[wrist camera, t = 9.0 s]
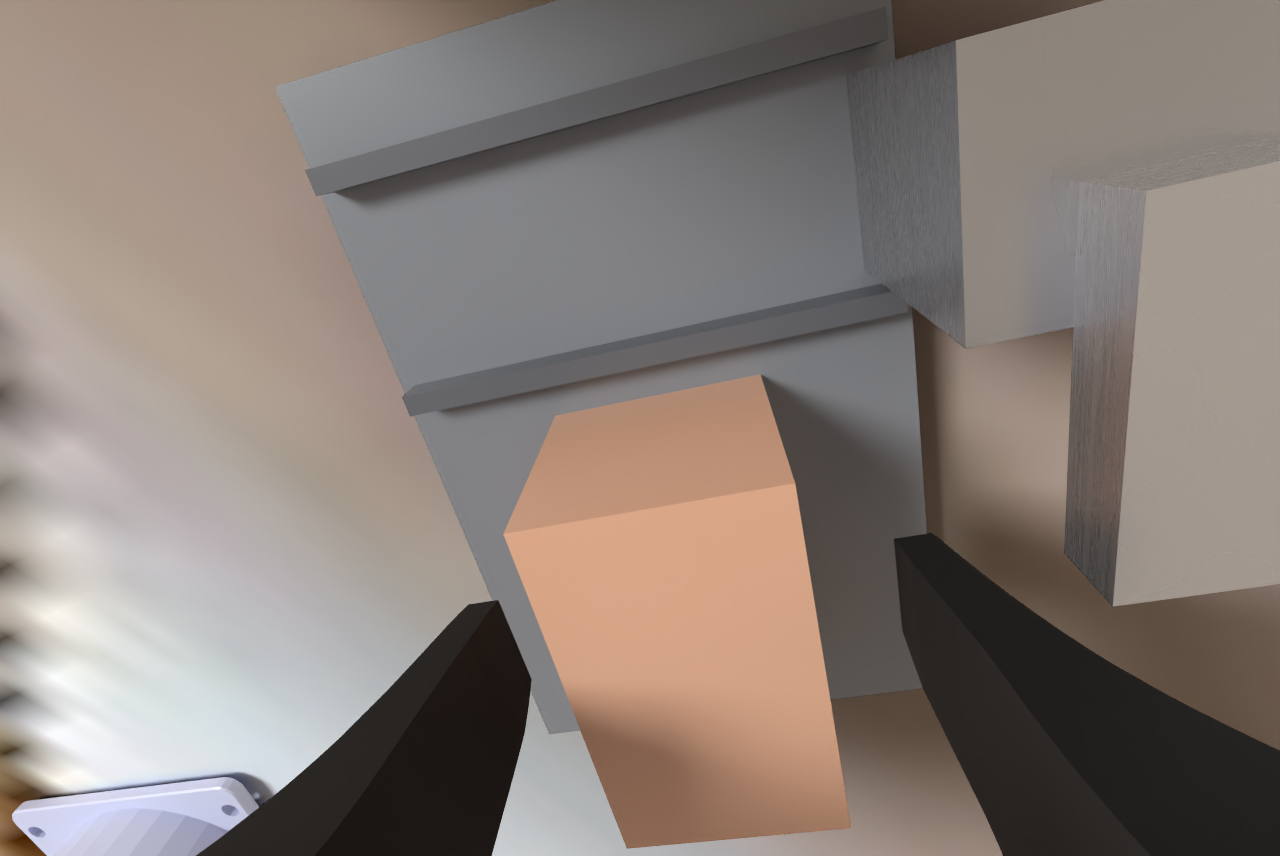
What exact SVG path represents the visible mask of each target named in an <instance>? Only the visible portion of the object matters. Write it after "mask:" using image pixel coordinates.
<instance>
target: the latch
mask: <svg viewBox="0 0 1280 856" xmlns="http://www.w3.org/2000/svg"><path fill="white" fill-rule="evenodd" d="M846 83H847V93H848V104H849V114H850V125H851V135H852V146H853V156H854V167H855V177H856V188H857V198H858V209H859V219H860V229H861V240H862V250H863V261H864V270H865V271H866V272H868V273H869V274H870V275H872V276H873V277H874V278H875V279H877V280H878V281H879V282H881V283H882V284H883V285H884V286H886V287H887V288H888V289H890V290H891V291H892V292H894V293H895V294H896V295H897V296H899V297H900V298H901V299H903V300H904V301H905V302H906V303H908V304H909V305H910V306H912V307H913V308H914V309H915V310H917V311H918V312H919V313H921V314H922V315H923V316H924V317H926V318H927V319H928V320H930V321H931V322H932V323H933V324H935V325H936V326H937V327H939V328H940V329H941V330H942V331H944V332H945V333H946V334H948V335H949V336H950V337H951V338H953V339H954V340H955V341H957V342H958V343H959V344H960V345H962V346H963V347H964V348H966V349H967V348H972V347H977V346H982V345H987V344H992V343H997V342H1002V341H1007V340H1012V339H1017V338H1022V337H1027V336H1032V335H1037V334H1042V333H1047V332H1052V331H1057V330H1062V329H1067V328H1073V347H1072V372H1071V397H1070V423H1069V448H1068V473H1067V498H1066V523H1065V548H1064V553H1065V554H1066V555H1067V556H1068V557H1069V559H1070V560H1071V561H1072V562H1073V563H1074V564H1075V565H1076V566H1077V567H1078V569H1079V570H1080V571H1081V572H1082V573H1083V574H1084V575H1085V576H1086V577H1087V579H1088V580H1089V581H1090V582H1091V583H1092V584H1093V585H1094V586H1095V587H1096V589H1097V590H1098V591H1099V592H1100V593H1101V594H1102V595H1103V596H1104V597H1105V599H1106V600H1107V601H1108V602H1109V603H1110V604H1111V605H1112V606H1113V607H1114V606H1121V605H1129V604H1136V603H1144V602H1151V601H1158V600H1166V599H1173V598H1181V597H1188V596H1195V595H1203V594H1210V593H1218V592H1225V591H1232V590H1240V589H1247V588H1255V587H1262V586H1269V585H1277V584H1280V0H1103V1H1100V2H1096V3H1092V4H1089V5H1085V6H1081V7H1078V8H1074V9H1070V10H1066V11H1063V12H1059V13H1055V14H1052V15H1048V16H1044V17H1040V18H1037V19H1033V20H1029V21H1026V22H1022V23H1018V24H1014V25H1011V26H1007V27H1003V28H1000V29H996V30H992V31H989V32H985V33H981V34H977V35H974V36H970V37H966V38H963V39H959V40H955V41H952V42H949V43H946V44H943V45H940V46H936V47H933V48H930V49H927V50H924V51H921V52H918V53H914V54H911V55H908V56H905V57H902V58H899V59H896V60H893V61H889V62H886V63H883V64H880V65H877V66H874V67H871V68H867V69H864V70H861V71H858V72H855V73H852V74H849V75H846Z"/></svg>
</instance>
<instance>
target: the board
mask: <svg viewBox="0 0 1280 856" xmlns="http://www.w3.org/2000/svg"><path fill="white" fill-rule="evenodd" d="M893 60H895V47H894V32H893V17H892V2H891V0H557V1H553V2H550V3H547V4H543V5H540V6H537V7H534V8H530V9H527V10H524V11H521V12H517V13H514V14H511V15H508V16H504V17H501V18H498V19H495V20H491V21H488V22H485V23H482V24H478V25H475V26H472V27H469V28H465V29H462V30H459V31H455V32H452V33H449V34H446V35H442V36H439V37H436V38H433V39H429V40H426V41H423V42H420V43H416V44H413V45H410V46H407V47H403V48H400V49H397V50H394V51H390V52H387V53H384V54H381V55H377V56H374V57H371V58H367V59H364V60H361V61H358V62H354V63H351V64H348V65H345V66H341V67H338V68H335V69H332V70H328V71H325V72H322V73H319V74H315V75H312V76H309V77H306V78H302V79H299V80H296V81H293V82H289V83H286V84H283V85H279V86H276V87H275V88H276V90H277V93H278V95H279V97H280V100H281V102H282V105H283V107H284V109H285V112H286V114H287V116H288V119H289V121H290V123H291V126H292V128H293V131H294V133H295V135H296V138H297V140H298V142H299V145H300V147H301V149H302V152H303V154H304V156H305V159H306V161H307V164H308V166H309V168H310V169H308V170H305V171H306V173H307V176H308V178H309V180H310V183H311V185H312V187H313V190H314V192H315V194H316V196H319V195H321V197H322V199H323V201H324V204H325V206H326V208H327V211H328V213H329V215H330V218H331V220H332V223H333V225H334V227H335V230H336V232H337V234H338V237H339V239H340V241H341V244H342V246H343V249H344V251H345V253H346V256H347V258H348V260H349V263H350V265H351V267H352V270H353V272H354V275H355V277H356V279H357V282H358V284H359V286H360V289H361V291H362V293H363V296H364V298H365V300H366V303H367V305H368V308H369V310H370V312H371V315H372V317H373V319H374V322H375V324H376V326H377V329H378V331H379V334H380V336H381V338H382V341H383V343H384V345H385V348H386V350H387V352H388V355H389V357H390V360H391V362H392V364H393V367H394V369H395V371H396V374H397V376H398V378H399V381H400V383H401V385H402V388H403V390H404V393H405V395H404V396H403V397H402V398H403V401H404V403H405V405H406V408H407V410H408V412H409V415H410V416H415V419H416V421H417V423H418V426H419V428H420V430H421V433H422V435H423V437H424V440H425V442H426V445H427V447H428V449H429V452H430V454H431V456H432V459H433V461H434V463H435V466H436V468H437V470H438V473H439V475H440V478H441V480H442V482H443V485H444V487H445V489H446V492H447V494H448V496H449V499H450V501H451V504H452V506H453V508H454V511H455V513H456V515H457V518H458V520H459V522H460V525H461V527H462V529H463V532H464V534H465V537H466V539H467V541H468V544H469V546H470V548H471V551H472V553H473V555H474V558H475V560H476V563H477V565H478V567H479V570H480V572H481V574H482V577H483V579H484V581H485V584H486V586H487V589H488V591H489V593H490V596H491V598H492V600H493V601H495V600H499V603H500V605H501V607H502V610H503V612H504V615H505V617H506V619H507V622H508V624H509V626H510V629H511V631H512V634H513V636H514V638H515V641H516V643H517V645H518V648H519V650H520V653H521V655H522V657H523V660H524V662H525V664H526V667H527V669H528V672H529V674H530V676H531V679H532V681H531V692H532V695H533V697H534V699H535V702H536V704H537V707H538V709H539V711H540V714H541V716H542V718H543V721H544V723H545V725H546V728H547V730H548V733H549V734H555V733H563V732H571V731H579V730H580V728H579V725H578V723H577V720H576V718H575V715H574V713H573V710H572V707H571V705H570V702H569V700H568V697H567V695H566V692H565V690H564V687H563V685H562V682H561V680H560V677H559V674H558V672H557V669H556V667H555V664H554V662H553V659H552V657H551V654H550V652H549V649H548V647H547V644H546V641H545V639H544V636H543V634H542V631H541V629H540V626H539V624H538V621H537V619H536V616H535V613H534V611H533V608H532V606H531V603H530V601H529V598H528V596H527V593H526V591H525V588H524V586H523V583H522V580H521V578H520V575H519V573H518V570H517V568H516V565H515V563H514V560H513V558H512V555H511V553H510V550H509V547H508V545H507V542H506V540H505V537H504V535H503V534H504V532H505V529H506V527H507V525H508V522H509V520H510V518H511V516H512V513H513V511H514V509H515V506H516V504H517V502H518V500H519V497H520V495H521V493H522V490H523V488H524V486H525V484H526V481H527V479H528V477H529V475H530V472H531V470H532V468H533V465H534V463H535V461H536V459H537V456H538V454H539V452H540V449H541V447H542V445H543V443H544V440H545V438H546V436H547V433H548V431H549V429H550V427H551V424H552V422H553V420H554V418H555V416H557V415H562V414H567V413H572V412H577V411H582V410H587V409H592V408H597V407H601V406H606V405H611V404H616V403H621V402H626V401H631V400H636V399H641V398H646V397H651V396H656V395H661V394H666V393H671V392H676V391H681V390H686V389H691V388H695V387H700V386H705V385H710V384H715V383H720V382H725V381H730V380H735V379H740V378H745V377H750V376H755V375H761V378H762V381H763V384H764V387H765V390H766V393H767V396H768V400H769V403H770V406H771V409H772V412H773V415H774V418H775V422H776V425H777V428H778V431H779V434H780V437H781V440H782V443H783V447H784V450H785V453H786V456H787V459H788V462H789V465H790V468H791V472H792V475H793V478H794V481H795V485H796V491H797V497H798V503H799V510H800V516H801V522H802V528H803V534H804V540H805V547H806V553H807V559H808V565H809V571H810V577H811V584H812V590H813V596H814V602H815V608H816V614H817V621H818V627H819V633H820V639H821V645H822V651H823V658H824V664H825V670H826V676H827V682H828V688H829V695H830V700H833V699H841V698H849V697H858V696H866V695H874V694H882V693H890V692H899V691H907V690H915V689H923V687H922V684H921V682H920V679H919V676H918V673H917V671H916V668H915V665H914V663H913V660H912V657H911V654H910V651H909V648H908V645H907V643H906V640H905V637H904V634H903V631H902V623H901V612H900V601H899V590H898V579H897V569H896V558H895V547H894V539H895V538H902V537H908V536H915V535H921V534H927V526H926V511H925V496H924V481H923V467H922V452H921V437H920V422H919V407H918V392H917V377H916V362H915V347H914V332H913V317H912V306H910V305H909V304H908V303H906V302H905V301H904V300H903V299H901V298H900V297H899V296H897V295H896V294H895V293H894V292H892V291H891V290H890V289H888V288H887V287H886V286H884V285H883V284H882V283H881V282H879V281H878V280H877V279H875V278H874V277H873V276H872V275H870V274H869V273H868V272H866V271H865V270H864V261H863V250H862V240H861V229H860V219H859V209H858V198H857V188H856V177H855V167H854V156H853V146H852V135H851V125H850V114H849V104H848V93H847V83H846V75H849V74H852V73H855V72H858V71H861V70H864V69H867V68H871V67H874V66H877V65H880V64H883V63H886V62H889V61H893Z"/></svg>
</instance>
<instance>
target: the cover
mask: <svg viewBox="0 0 1280 856" xmlns="http://www.w3.org/2000/svg"><path fill="white" fill-rule="evenodd" d="M503 535H504V537H505V540H506V542H507V545H508V547H509V550H510V553H511V555H512V558H513V560H514V563H515V565H516V568H517V570H518V573H519V575H520V578H521V580H522V583H523V586H524V588H525V591H526V593H527V596H528V598H529V601H530V603H531V606H532V608H533V611H534V613H535V616H536V619H537V621H538V624H539V626H540V629H541V631H542V634H543V636H544V639H545V641H546V644H547V647H548V649H549V652H550V654H551V657H552V659H553V662H554V664H555V667H556V669H557V672H558V674H559V677H560V680H561V682H562V685H563V687H564V690H565V692H566V695H567V697H568V700H569V702H570V705H571V707H572V710H573V713H574V715H575V718H576V720H577V723H578V725H579V728H580V730H581V733H582V735H583V738H584V741H585V743H586V746H587V748H588V751H589V753H590V756H591V758H592V761H593V763H594V766H595V768H596V771H597V774H598V776H599V779H600V781H601V784H602V786H603V789H604V791H605V794H606V796H607V799H608V801H609V804H610V807H611V809H612V812H613V814H614V817H615V819H616V822H617V824H618V827H619V829H620V832H621V835H622V837H623V840H624V842H625V845H626V847H627V848H638V847H649V846H660V845H671V844H682V843H693V842H704V841H715V840H726V839H736V838H747V837H758V836H769V835H780V834H791V833H802V832H813V831H824V830H835V829H846V828H851V824H850V818H849V812H848V806H847V800H846V793H845V787H844V781H843V775H842V769H841V763H840V756H839V750H838V744H837V738H836V732H835V726H834V719H833V713H832V707H831V701H830V695H829V688H828V682H827V676H826V670H825V664H824V658H823V651H822V645H821V639H820V633H819V627H818V621H817V614H816V608H815V602H814V596H813V590H812V584H811V577H810V571H809V565H808V559H807V553H806V547H805V540H804V534H803V528H802V522H801V516H800V510H799V503H798V497H797V491H796V485H795V481H794V478H793V475H792V472H791V468H790V465H789V462H788V459H787V456H786V453H785V450H784V447H783V443H782V440H781V437H780V434H779V431H778V428H777V425H776V422H775V418H774V415H773V412H772V409H771V406H770V403H769V400H768V396H767V393H766V390H765V387H764V384H763V381H762V378H761V375H755V376H750V377H745V378H740V379H735V380H730V381H725V382H720V383H715V384H710V385H705V386H700V387H695V388H691V389H686V390H681V391H676V392H671V393H666V394H661V395H656V396H651V397H646V398H641V399H636V400H631V401H626V402H621V403H616V404H611V405H606V406H601V407H597V408H592V409H587V410H582V411H577V412H572V413H567V414H562V415H557V416H555V418H554V420H553V422H552V424H551V427H550V429H549V431H548V433H547V436H546V438H545V440H544V443H543V445H542V447H541V449H540V452H539V454H538V456H537V459H536V461H535V463H534V465H533V468H532V470H531V472H530V475H529V477H528V479H527V481H526V484H525V486H524V488H523V490H522V493H521V495H520V497H519V500H518V502H517V504H516V506H515V509H514V511H513V513H512V516H511V518H510V520H509V522H508V525H507V527H506V529H505V532H504V534H503Z"/></svg>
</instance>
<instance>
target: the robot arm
mask: <svg viewBox="0 0 1280 856" xmlns="http://www.w3.org/2000/svg"><path fill="white" fill-rule="evenodd" d="M894 547H895V558H896V569H897V579H898V590H899V601H900V612H901V623H902V631H903V634H904V637H905V640H906V643H907V645H908V648H909V651H910V654H911V657H912V660H913V663H914V665H915V668H916V671H917V673H918V676H919V679H920V682H921V684H922V687H923V689H924V691H925V693H926V695H927V697H928V699H929V701H930V703H931V706H932V708H933V710H934V712H935V714H936V716H937V718H938V720H939V722H940V724H941V726H942V728H943V730H944V732H945V734H946V736H947V738H948V740H949V742H950V744H951V746H952V748H953V750H954V752H955V755H956V757H957V759H958V761H959V763H960V765H961V767H962V769H963V771H964V773H965V775H966V777H967V779H968V781H969V783H970V785H971V787H972V789H973V791H974V793H975V795H976V797H977V799H978V801H979V803H980V805H981V807H982V809H983V811H984V813H985V815H986V818H987V820H988V822H989V824H990V826H991V829H992V831H993V833H994V835H995V838H996V840H997V842H998V844H999V847H1000V849H1001V851H1002V854H1003V856H1280V751H1279V750H1277V749H1275V748H1273V747H1270V746H1268V745H1266V744H1264V743H1262V742H1260V741H1258V740H1256V739H1254V738H1252V737H1249V736H1247V735H1245V734H1243V733H1241V732H1239V731H1237V730H1235V729H1233V728H1231V727H1229V726H1227V725H1225V724H1223V723H1221V722H1219V721H1217V720H1215V719H1213V718H1211V717H1209V716H1207V715H1205V714H1203V713H1201V712H1199V711H1197V710H1195V709H1193V708H1191V707H1189V706H1187V705H1185V704H1183V703H1182V702H1180V701H1178V700H1176V699H1174V698H1172V697H1170V696H1168V695H1166V694H1165V693H1163V692H1161V691H1159V690H1157V689H1156V688H1154V687H1152V686H1150V685H1149V684H1147V683H1145V682H1143V681H1142V680H1140V679H1138V678H1136V677H1135V676H1133V675H1131V674H1129V673H1127V672H1126V671H1124V670H1122V669H1120V668H1119V667H1117V666H1115V665H1113V664H1112V663H1110V662H1109V661H1107V660H1105V659H1104V658H1102V657H1100V656H1099V655H1097V654H1096V653H1094V652H1092V651H1091V650H1089V649H1088V648H1086V647H1085V646H1083V645H1082V644H1080V643H1079V642H1077V641H1076V640H1074V639H1072V638H1071V637H1069V636H1068V635H1066V634H1065V633H1063V632H1062V631H1060V630H1059V629H1057V628H1056V627H1054V626H1053V625H1052V624H1050V623H1049V622H1047V621H1046V620H1044V619H1043V618H1041V617H1040V616H1039V615H1037V614H1036V613H1034V612H1033V611H1032V610H1030V609H1029V608H1028V607H1026V606H1025V605H1024V604H1022V603H1021V602H1019V601H1018V600H1017V599H1015V598H1014V597H1013V596H1011V595H1010V594H1008V593H1007V592H1006V591H1004V590H1003V589H1002V588H1000V587H999V586H998V585H996V584H995V583H994V582H993V581H991V580H990V579H989V578H987V577H986V576H985V575H984V574H982V573H981V572H980V571H979V570H977V569H976V568H975V567H973V566H972V565H971V564H970V563H968V562H967V561H966V560H965V559H963V558H962V557H961V556H960V555H959V554H957V553H956V552H955V551H954V550H952V549H951V548H950V547H949V546H948V545H946V544H945V543H944V542H943V541H941V540H940V539H939V538H938V537H936V536H935V535H933V534H932V533H928V534H921V535H915V536H908V537H902V538H895V539H894ZM531 681H532V679H531V676H530V674H529V672H528V669H527V667H526V664H525V662H524V660H523V657H522V655H521V653H520V650H519V648H518V645H517V643H516V641H515V638H514V636H513V634H512V631H511V629H510V626H509V624H508V622H507V619H506V617H505V615H504V612H503V610H502V607H501V605H500V603H499V600H495V601H489V602H483V603H476V604H470V605H468V606H467V607H466V608H465V609H464V610H462V611H461V612H460V613H459V614H458V615H457V616H456V618H455V619H454V620H453V621H452V622H451V623H450V624H449V625H448V626H447V627H446V628H445V629H444V630H443V631H442V632H441V633H440V635H439V636H438V637H437V638H436V639H435V640H434V641H433V642H432V643H431V644H430V645H429V646H428V648H427V649H426V650H425V651H424V652H423V653H422V654H421V655H420V656H419V657H418V658H417V659H416V661H415V662H414V663H413V664H412V665H411V666H410V667H409V668H408V669H407V670H406V671H405V672H404V673H403V674H402V676H401V677H400V678H399V679H398V680H397V681H396V682H395V683H394V684H393V685H392V686H391V687H390V688H389V689H388V690H387V691H386V692H385V693H384V694H383V695H382V696H381V697H380V698H379V699H378V700H377V701H376V702H375V703H374V704H373V705H372V706H371V707H370V708H369V709H368V710H367V711H366V712H365V713H364V714H363V715H362V716H361V717H360V718H359V719H358V720H357V721H356V722H355V723H354V724H353V725H352V726H351V727H350V728H349V729H348V730H347V731H346V732H345V733H344V734H343V735H342V736H341V737H340V738H339V739H338V740H337V741H336V742H335V743H334V744H333V745H332V746H331V747H330V748H328V749H327V750H326V751H325V752H324V753H323V754H322V755H321V756H320V757H319V758H317V759H316V760H315V761H314V762H313V763H312V764H311V765H310V766H308V767H307V768H306V769H305V770H304V771H303V772H301V773H300V774H299V775H298V776H297V777H296V778H295V779H293V780H292V781H291V782H290V783H289V784H288V785H286V786H285V787H284V788H283V789H282V790H280V791H279V792H278V793H277V794H276V795H274V796H273V797H272V798H271V799H269V800H268V801H267V802H265V803H264V804H263V805H262V806H260V807H259V806H258V804H257V803H256V802H255V800H254V799H253V798H252V796H251V795H250V793H249V792H248V791H247V789H246V788H245V787H244V785H243V784H242V783H241V782H239V781H237V780H236V779H233V778H229V777H220V778H212V779H204V780H196V781H187V782H179V783H171V784H163V785H154V786H146V787H138V788H130V789H121V790H113V791H105V792H97V793H88V794H80V795H72V796H64V797H55V798H47V799H39V800H31V801H26V802H23V803H22V804H21V805H20V806H19V807H18V808H17V809H16V810H15V811H14V813H13V814H12V818H13V821H14V822H15V824H16V825H17V826H18V827H19V828H20V829H21V830H22V831H23V832H24V833H25V834H26V835H27V836H28V837H29V838H30V839H31V840H32V841H33V842H34V843H35V844H36V845H37V846H38V847H39V848H40V849H41V850H42V851H43V852H44V853H45V854H46V855H47V856H492V852H493V848H494V845H495V841H496V837H497V834H498V830H499V826H500V823H501V819H502V815H503V812H504V808H505V804H506V801H507V797H508V793H509V790H510V786H511V782H512V779H513V775H514V771H515V768H516V764H517V760H518V756H519V752H520V749H521V745H522V741H523V737H524V733H525V726H526V720H527V713H528V706H529V698H530V690H531Z"/></svg>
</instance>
